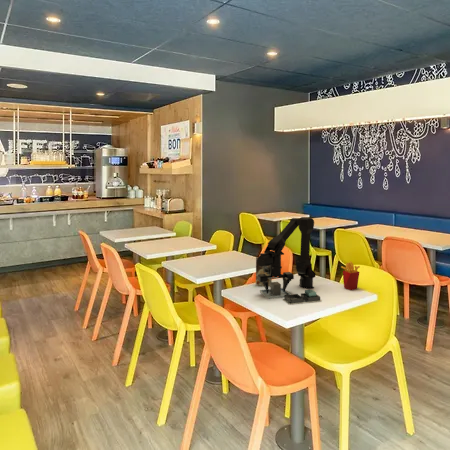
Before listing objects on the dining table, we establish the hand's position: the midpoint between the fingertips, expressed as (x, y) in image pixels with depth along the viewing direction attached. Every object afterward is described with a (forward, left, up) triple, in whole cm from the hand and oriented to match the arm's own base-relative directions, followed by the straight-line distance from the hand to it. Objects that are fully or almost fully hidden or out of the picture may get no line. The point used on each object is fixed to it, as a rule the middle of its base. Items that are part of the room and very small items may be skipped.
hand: (275, 292), depth 230 cm
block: (0, 0, -1) cm, 1 cm away
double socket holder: (-9, +14, -2) cm, 17 cm away
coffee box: (0, -19, -2) cm, 19 cm away
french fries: (-43, 0, -2) cm, 43 cm away
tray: (0, 0, -2) cm, 2 cm away
